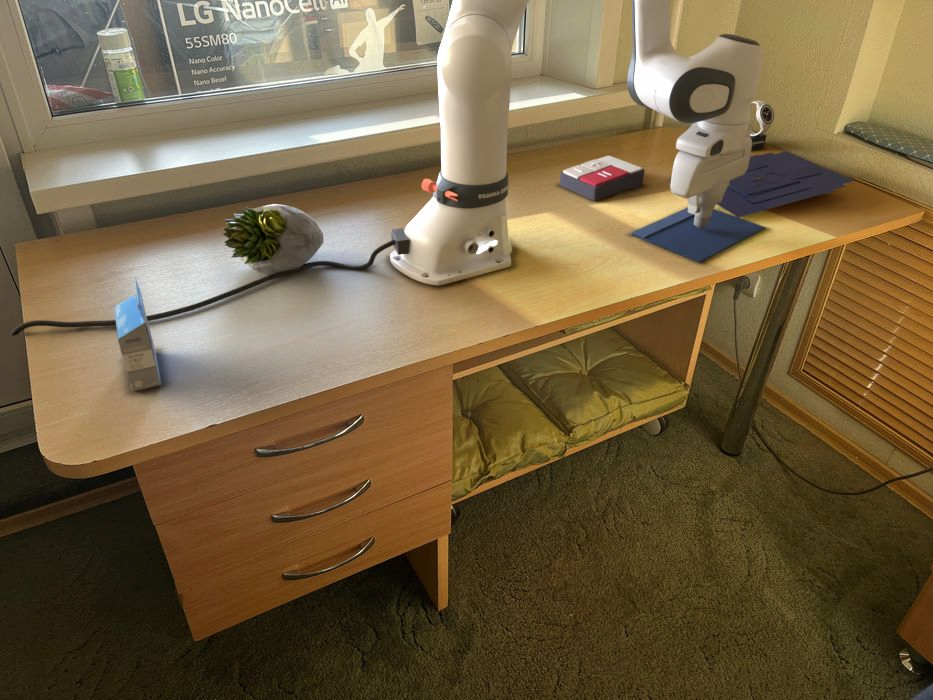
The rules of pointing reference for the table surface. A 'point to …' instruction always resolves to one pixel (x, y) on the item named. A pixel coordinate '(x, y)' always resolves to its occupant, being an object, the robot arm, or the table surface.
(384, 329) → the table surface
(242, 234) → the potted plant
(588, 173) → the button panel
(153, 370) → the label tape box
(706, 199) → the lightbulb
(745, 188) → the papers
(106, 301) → the table surface
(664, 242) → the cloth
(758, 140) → the watch
